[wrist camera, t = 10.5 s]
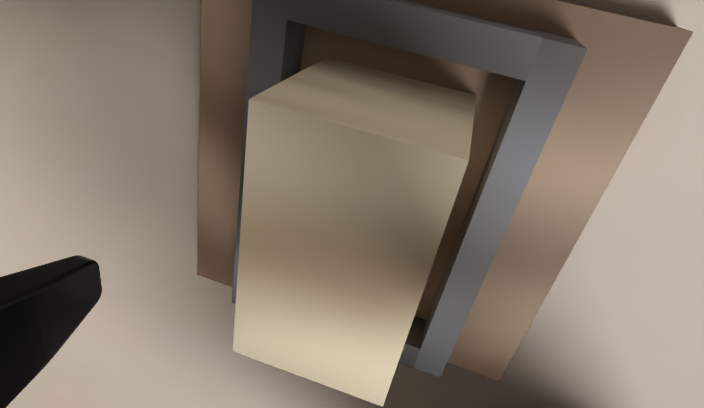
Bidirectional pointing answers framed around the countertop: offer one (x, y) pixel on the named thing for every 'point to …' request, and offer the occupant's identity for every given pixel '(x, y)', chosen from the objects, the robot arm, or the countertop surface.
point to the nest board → (486, 144)
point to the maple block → (344, 219)
